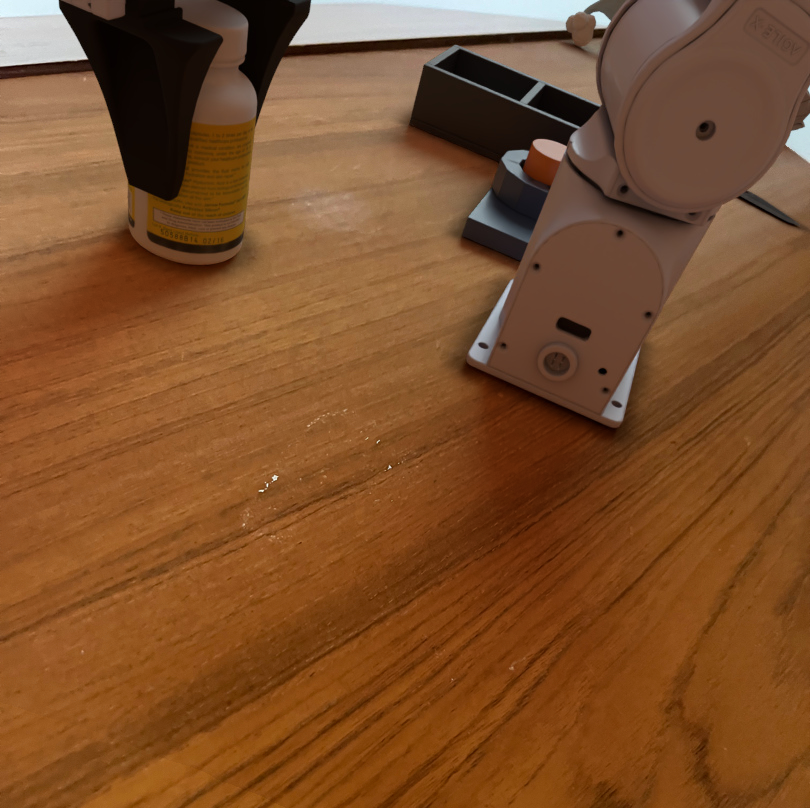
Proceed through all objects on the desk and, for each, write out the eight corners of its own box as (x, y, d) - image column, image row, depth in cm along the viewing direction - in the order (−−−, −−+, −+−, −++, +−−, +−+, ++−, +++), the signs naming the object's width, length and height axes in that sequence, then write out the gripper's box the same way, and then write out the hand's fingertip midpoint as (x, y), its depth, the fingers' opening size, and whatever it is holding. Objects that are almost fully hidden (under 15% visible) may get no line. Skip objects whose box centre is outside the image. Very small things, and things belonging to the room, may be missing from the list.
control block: (583, 288, 45) (606, 241, 42) (460, 235, 45) (476, 186, 43) (607, 232, 51) (627, 188, 49) (499, 186, 52) (515, 141, 49)
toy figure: (659, 107, 93) (550, 54, 91) (704, 14, 89) (591, -44, 88) (701, 80, 77) (571, 16, 76) (758, -34, 73) (622, -104, 72)
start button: (564, 197, 46) (576, 168, 45) (517, 176, 46) (527, 147, 45) (573, 181, 48) (585, 153, 47) (528, 161, 49) (538, 133, 47)
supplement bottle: (264, 256, 38) (293, 35, 31) (173, 279, 34) (181, 37, 27) (198, 203, 39) (210, -17, 32) (104, 220, 36) (96, -21, 29)
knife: (799, 230, 62) (801, 219, 64) (802, 225, 62) (804, 213, 64) (629, 151, 64) (637, 142, 66) (632, 145, 64) (639, 137, 66)
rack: (594, 203, 54) (620, 146, 51) (408, 124, 55) (423, 64, 52) (609, 171, 59) (633, 118, 57) (440, 99, 60) (455, 44, 57)
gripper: (212, -266, 30) (195, 99, 40) (-67, -324, 20) (2, 184, 30) (373, -201, 29) (315, 150, 39) (171, -228, 19) (161, 254, 29)
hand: (189, 169), depth 34 cm, fingers open, 5 cm apart
